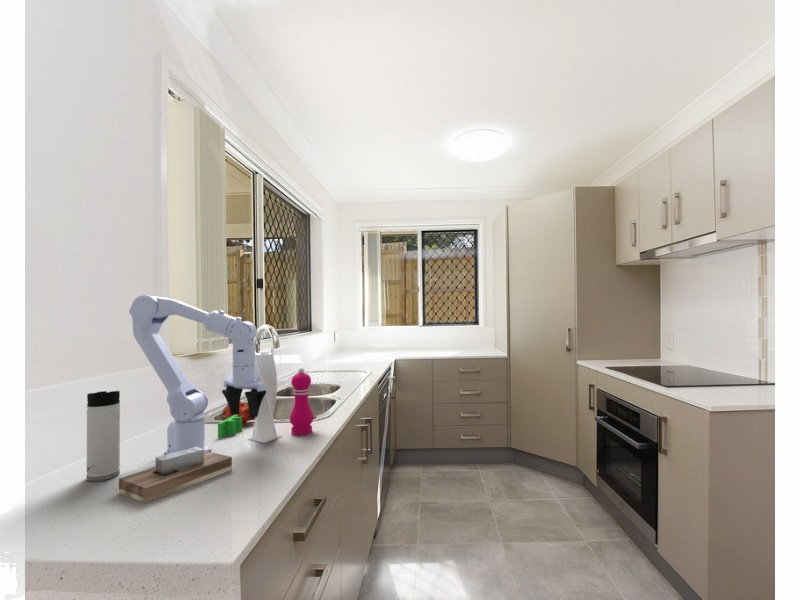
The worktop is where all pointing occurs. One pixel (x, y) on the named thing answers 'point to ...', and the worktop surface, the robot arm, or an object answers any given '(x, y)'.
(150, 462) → the worktop surface
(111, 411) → the travel mug
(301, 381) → the pepper mill
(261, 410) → the skyscraper
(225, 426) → the green bumpy bar
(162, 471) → the grey block
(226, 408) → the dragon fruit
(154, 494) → the wooden slotted board
